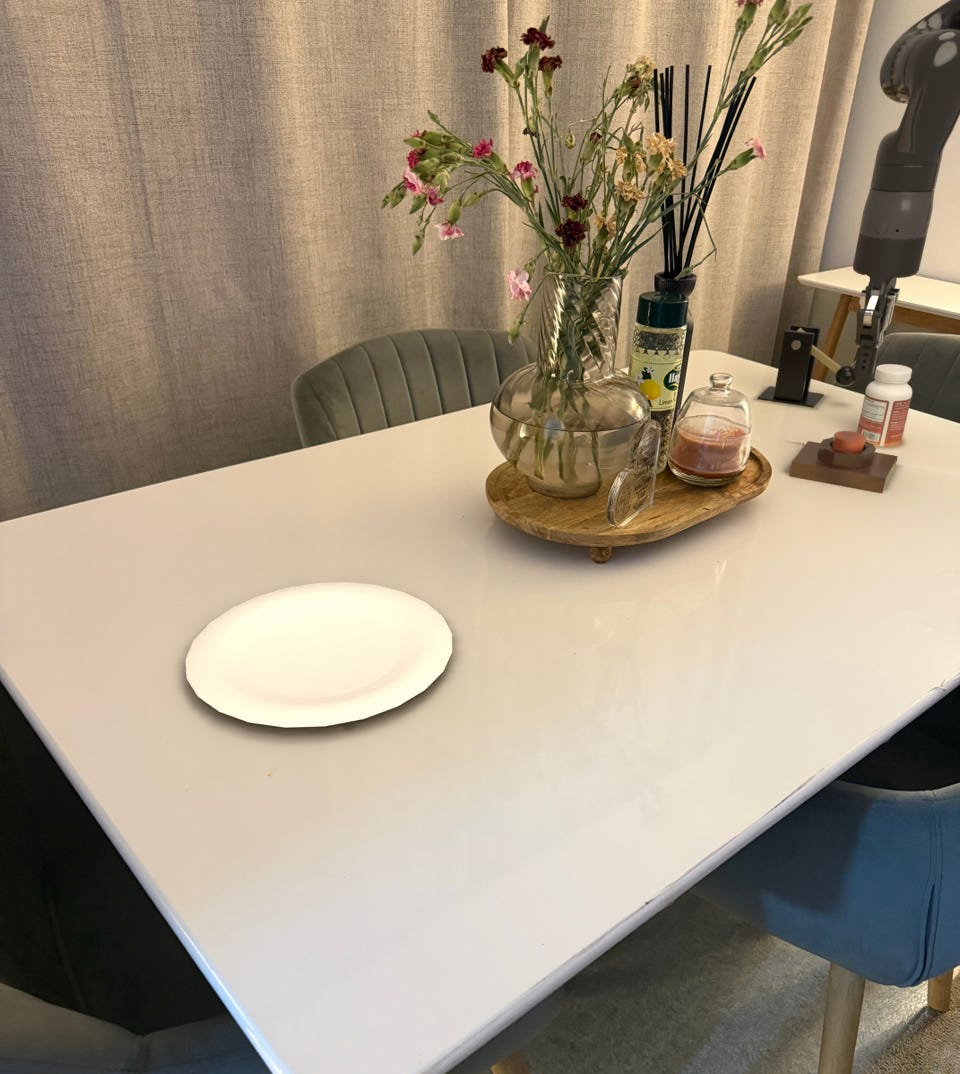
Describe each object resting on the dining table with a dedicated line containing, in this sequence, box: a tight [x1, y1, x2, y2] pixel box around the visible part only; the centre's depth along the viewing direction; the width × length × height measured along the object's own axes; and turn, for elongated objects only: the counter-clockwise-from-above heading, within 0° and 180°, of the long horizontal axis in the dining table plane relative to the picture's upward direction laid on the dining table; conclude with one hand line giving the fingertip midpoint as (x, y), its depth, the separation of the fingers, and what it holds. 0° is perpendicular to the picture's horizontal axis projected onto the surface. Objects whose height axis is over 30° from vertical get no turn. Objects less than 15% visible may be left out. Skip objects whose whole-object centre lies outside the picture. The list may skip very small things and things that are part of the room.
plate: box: [184, 581, 453, 730], centre depth 87 cm, size 25×25×2 cm
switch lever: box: [797, 328, 858, 387], centre depth 145 cm, size 12×3×3 cm, turn 60°
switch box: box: [788, 436, 899, 495], centre depth 124 cm, size 12×9×4 cm
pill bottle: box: [857, 363, 913, 447], centre depth 131 cm, size 6×6×11 cm
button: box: [832, 430, 866, 452], centre depth 122 cm, size 4×4×2 cm
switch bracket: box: [757, 324, 825, 409], centre depth 147 cm, size 9×7×12 cm
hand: (863, 376), depth 118 cm, fingers closed
